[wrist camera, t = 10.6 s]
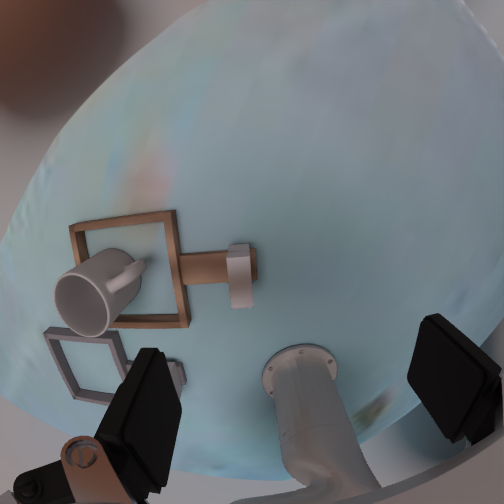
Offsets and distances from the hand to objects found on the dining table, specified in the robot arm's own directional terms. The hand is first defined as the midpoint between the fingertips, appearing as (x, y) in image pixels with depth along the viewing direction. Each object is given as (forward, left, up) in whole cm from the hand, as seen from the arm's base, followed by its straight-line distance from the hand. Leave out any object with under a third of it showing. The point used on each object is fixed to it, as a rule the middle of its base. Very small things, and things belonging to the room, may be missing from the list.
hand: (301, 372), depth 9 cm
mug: (-5, +20, -29) cm, 35 cm away
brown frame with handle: (-5, +14, -28) cm, 32 cm away
